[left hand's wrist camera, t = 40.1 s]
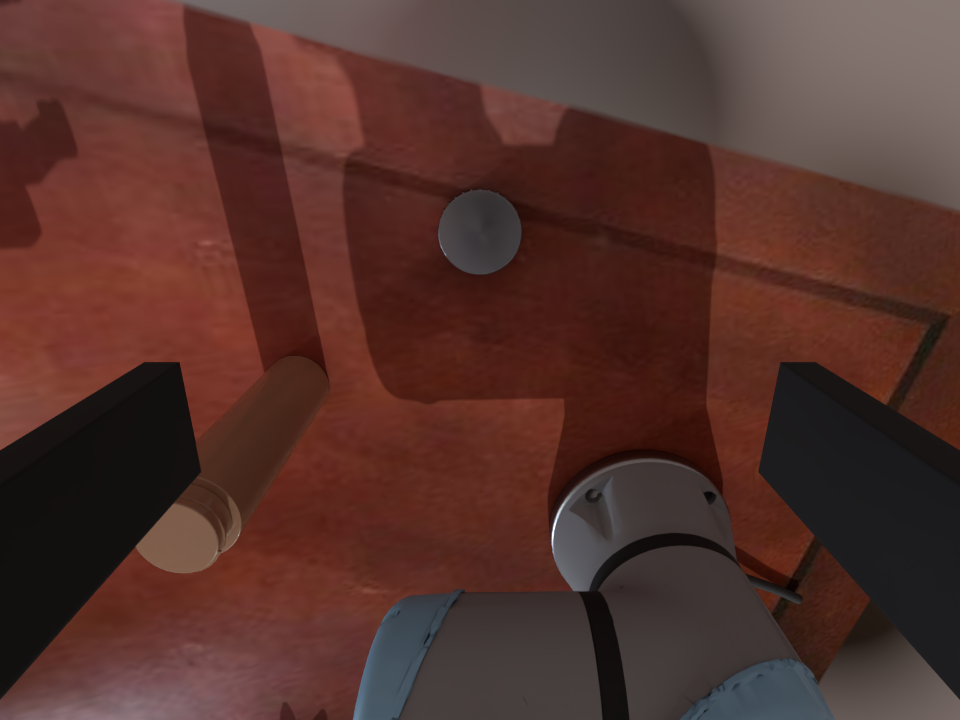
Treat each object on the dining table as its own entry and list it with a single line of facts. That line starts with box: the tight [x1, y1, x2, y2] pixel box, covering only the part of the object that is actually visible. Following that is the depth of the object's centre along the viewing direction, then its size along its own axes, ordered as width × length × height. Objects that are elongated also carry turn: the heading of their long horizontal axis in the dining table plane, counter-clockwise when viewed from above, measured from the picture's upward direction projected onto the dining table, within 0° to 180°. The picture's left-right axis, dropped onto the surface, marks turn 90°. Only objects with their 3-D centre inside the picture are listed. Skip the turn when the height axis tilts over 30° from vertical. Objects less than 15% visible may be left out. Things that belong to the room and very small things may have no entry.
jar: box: [136, 356, 329, 573], centre depth 35 cm, size 5×5×19 cm
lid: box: [438, 188, 522, 275], centre depth 39 cm, size 6×6×2 cm
